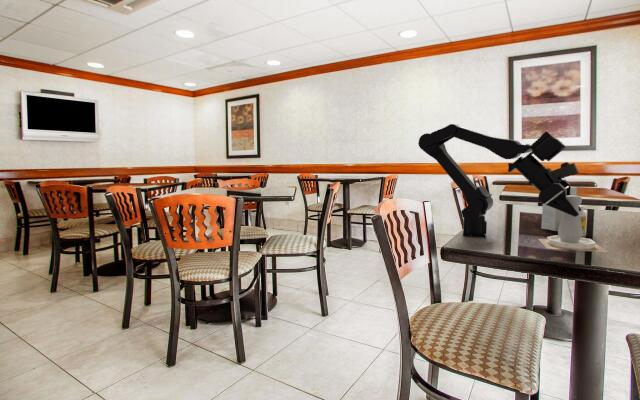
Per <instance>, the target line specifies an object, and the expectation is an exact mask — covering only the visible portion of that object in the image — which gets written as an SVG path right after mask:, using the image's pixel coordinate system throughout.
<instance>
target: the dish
mask: <svg viewBox="0 0 640 400" xmlns="http://www.w3.org/2000/svg"><path fill="white" fill-rule="evenodd" d="M546 239H548V244H549V245H551V246H555V247H559V248H564V249H573V250H572V251H578V250H590V249H594V248H595V245H596V244H597V242H595V240H593V239H592V238H586V237H583V236H582V237H581V238H580V240H579V242H578V243H568V242H563V241H561V240H560V237H559V235H558V234H557V235H556V234H555V235H550V236H547V237H546Z"/></svg>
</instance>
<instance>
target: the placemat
mask: <svg viewBox="0 0 640 400" xmlns="http://www.w3.org/2000/svg"><path fill="white" fill-rule="evenodd" d="M537 240H538V241H539V242H540V243H541V244H542V245H543V246H544V248H545V249H548V250H562V251H563V250H564V251H574V250H573V249H564V248H559V247H555V246H551V245H549V244H548V239H547V238H537ZM577 251H578V252H579V251H580V252H597V253H598V252H599V253H608V251H607V250H606V249H604V248H603V247H601V246H600V245H598V244H597V243H596V245H595V248H594V249H590V250H577Z"/></svg>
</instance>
